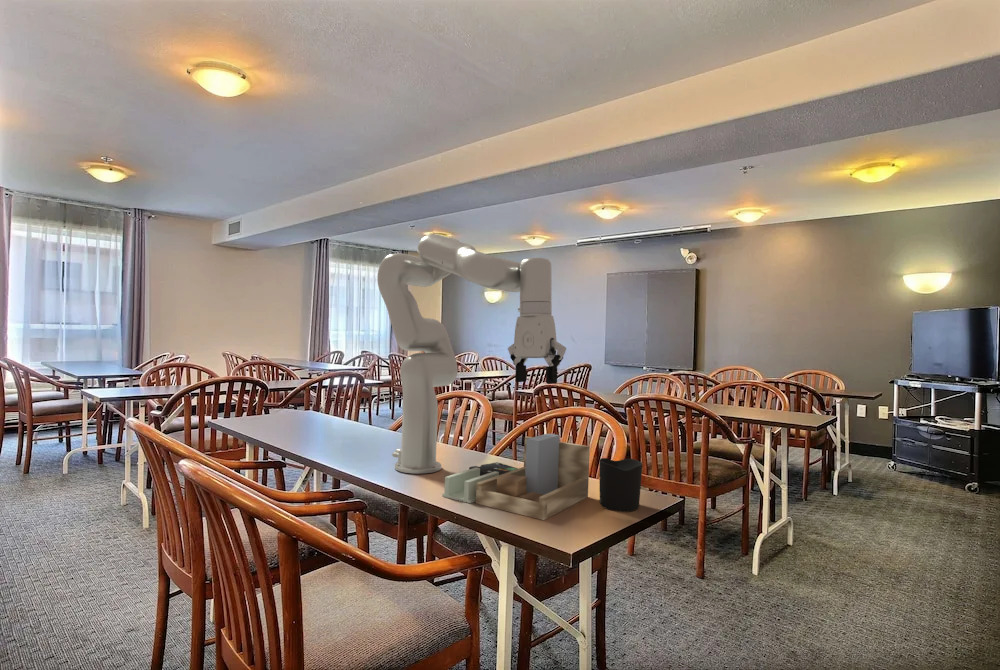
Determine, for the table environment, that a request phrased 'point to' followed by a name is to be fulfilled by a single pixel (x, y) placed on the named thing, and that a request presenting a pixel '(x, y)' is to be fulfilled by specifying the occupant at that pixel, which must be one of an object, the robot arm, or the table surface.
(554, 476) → the blue-grey flat block
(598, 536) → the table surface
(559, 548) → the table surface
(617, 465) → the pen holder
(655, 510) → the table surface
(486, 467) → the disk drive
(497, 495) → the tray
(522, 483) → the offcut
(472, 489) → the stand
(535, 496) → the offcut
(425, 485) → the table surface
